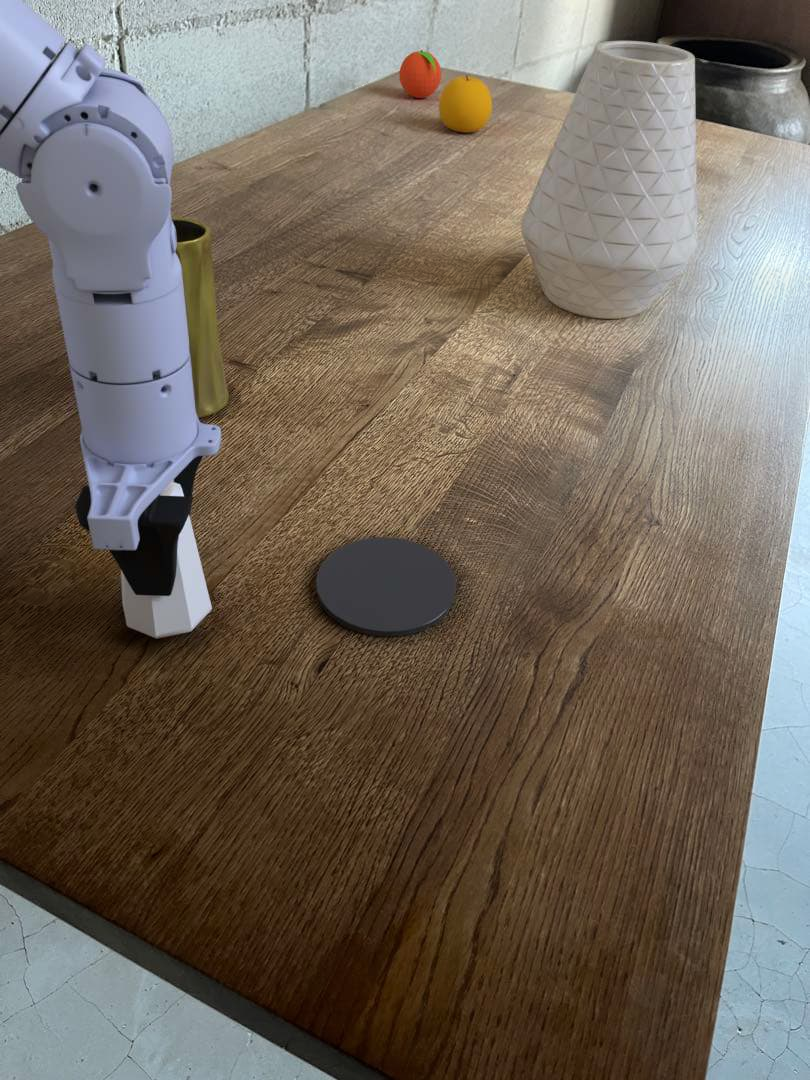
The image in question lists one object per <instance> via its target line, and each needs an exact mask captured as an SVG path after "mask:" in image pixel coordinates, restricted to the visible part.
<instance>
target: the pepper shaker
mask: <svg viewBox="0 0 810 1080" xmlns="http://www.w3.org/2000/svg"><path fill="white" fill-rule="evenodd" d="M173 481H174V480H173ZM173 481H172V482H171V483H170V484H169V485H168V486H167V487H166V488H165V489H164V490H163V491H162V492H161V493H160V495H162V496H184V494H183V491H182V488H181V485H180V484H177V483H175V482H173ZM120 579H121V580H120V581H121V583H120V584H121V598H122V599H121V602H122V608H123V613H124V614H123V615H124V618H125V624H126V627H127V628H130V629H132V630H135V631H137V632H139V633H142V634H144V635H147V636H149V637H151V638H154V639H162V638H166V637H171V636H176V635H182V634H186V633H190V632H193V630H194V629H195V628H196V627H197V626H198V625H199V624H200V623H201V622H202V621H203V620H204V619H205V618H206V616H208V614H210V612H211V611H212V609H213V606H212V603H211V598H210V595H209V590H208V587H207V582H206V579H205V574H204V569H203V566H202V562H201V557H200V554H199V549H198V545H197V540H196V537H195V533H194V529H193V525H192V520H191V515H190V516H188V518H187V520H186V523H185V525H184V527H183V529H182V531H181V533H180V534H179V539H178V547H177V568H176V577H175V582H174V586H173V590H172V593H171V595H170V596H151V595H136V594H135V593H134V592H133V590H132V588H131V587H130V585H129V583H128V581H127V580H126V578H125V576H124V574H123V572H122V571H121V570H120Z"/></svg>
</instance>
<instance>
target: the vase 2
mask: <svg viewBox="0 0 810 1080" xmlns="http://www.w3.org/2000/svg"><path fill="white" fill-rule="evenodd" d="M696 108H697V106H696V57H695V55H694V54H693V53H692V52H690V51H689V50H685V49H682V48H680V47H676V46H671V45H667V44H664V43H663V44H662V43H656V42H649V41H639V40H609V41H603V42H600V43H598V44H596V45H595V46H594V49H593V51H592V54H591V56H590V58H589V61H588V63H587V65H586V68H585V70H584V73H583V75H582V77H581V79H580V82H579V84H578V86H577V89H576V91H575V94H574V96H573V98H572V100H571V103H570V105H569V107H568V110H567V112H566V114H565V118H563V119H564V120H563V122H562V124H561V126H560V128H559V131H558V133H557V136H556V138H555V140H554V143H553V146H552V148H551V150H550V152H549V155H548V157H547V159H546V162H545V164H544V167H543V168H542V171H541V174H540V176H539V178H538V181H537V183H536V185H535V187H534V190H533V192H532V194H531V197H530V199H529V202H528V204H527V207H526V209H525V210H524V213H523V216H522V218H521V222H520V229H521V230H520V231H521V235H522V238H523V240H524V243H525V246H526V249H527V251H528V254H529V257H530V259H531V263H532V265H533V268H534V271H535V273H536V275H537V278H538V281H539V283H540V286H541V289H542V292H543V294H544V296H545V298H546V299H547V300H548V301H549V302H550V303H552V304H553V305H555V306H556V307H558V308H560V309H561V310H564V311H566V312H569V313H572V314H574V315H577V316H582V317H586V318H590V319H591V318H592V319H601V320H621V319H627V318H628V319H629V318H633V317H634V316H637V315H640V314H642V313H644V311H646V310H647V309H648V308H649V307H650V306H651V304H652V303H654V301H655V300H656V299H657V298H658V297H659V296H660V295H661V294H662V292H664V290H665V289H667V288H668V286H669V285H670V284H671V283H672V281H674V279H676V277H677V276H678V275H679V274H680V273H681V272H682V271H683V269H684V268H685V267H686V266H687V265H688V264H689V263H690V262H691V261H692V259H693V258H694V257H695V255H696V252H697V250H698V245H699V243H698V242H699V241H698V240H699V237H698V236H699V235H698V232H699V231H698V230H699V229H698V176H697V175H698V172H697V171H698V169H697V116H696V115H697V114H696V112H697V110H696Z"/></svg>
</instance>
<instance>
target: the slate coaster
mask: <svg viewBox="0 0 810 1080" xmlns="http://www.w3.org/2000/svg"><path fill="white" fill-rule="evenodd" d="M315 590H316V596H317V599H318V601H319V604H320V605H321V607H322V608H323V610H324V611H325V612H326V613H327V614H328V616H330V617H331V618H332V619H333V620H334V621H336V622H337V623H339V624H340V625H341V626H343V627H346V628H347V629H349V630H352V631H355V632H358V633H361V634H365V635H369V636H375V637H385V638H386V637H387V638H388V637H389V638H390V637H391V638H393V637H402V636H410V635H413V634H418V633H420V632H423V631H425V630H427V629H429V628H432V627H433V626H435V625H436V624H438V623H439V622H440V621H442V620H443V619H444V618H445V617H446V616H447V615H448V613H450V610H451V609H452V607H453V605H454V603H455V599H456V594H457V580H456V577H455V575H454V572H453V570H452V568H451V567H450V565H449V563H448V562H447V561H446V560H445V559H443V558H442V556H440V555H439V554H438V553H437V552H435V551H434V550H432V549H431V548H428V547H427V546H426V545H423V544H421V543H417V542H414V541H411V540H407V539H404V538H398V537H388V536H385V537H383V536H382V537H368V538H362V539H359V540H355V541H351V542H349V543H347V544H344V545H342V546H340V547H338V548H337V549H335V550H333V551H332V553H330V554H329V555H328V556H327V557H326V558H325V559H324V561H322V563H321V564H320V567H319V568H318V571H317V574H316V579H315Z"/></svg>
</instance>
